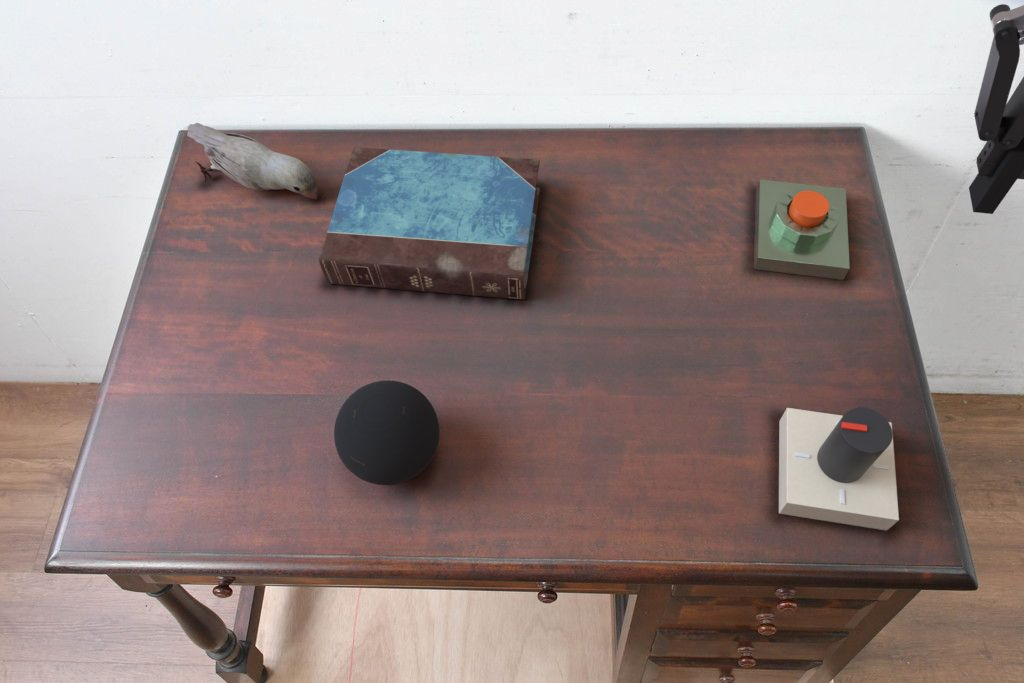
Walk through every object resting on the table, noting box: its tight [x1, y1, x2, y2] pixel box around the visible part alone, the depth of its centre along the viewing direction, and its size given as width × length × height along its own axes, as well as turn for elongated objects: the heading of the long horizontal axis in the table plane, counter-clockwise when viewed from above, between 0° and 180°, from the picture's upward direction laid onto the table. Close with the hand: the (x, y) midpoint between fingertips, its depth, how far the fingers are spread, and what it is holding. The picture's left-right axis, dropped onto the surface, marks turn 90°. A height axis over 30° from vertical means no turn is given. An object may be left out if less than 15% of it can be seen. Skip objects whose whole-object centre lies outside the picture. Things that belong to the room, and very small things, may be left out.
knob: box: [817, 406, 894, 483], centre depth 72 cm, size 4×4×7 cm
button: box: [789, 191, 829, 227], centre depth 90 cm, size 4×4×2 cm
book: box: [318, 146, 541, 301], centre depth 93 cm, size 23×18×5 cm
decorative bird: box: [186, 122, 318, 200], centre depth 98 cm, size 5×16×8 cm, turn 69°
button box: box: [753, 179, 851, 281], centre depth 92 cm, size 12×10×4 cm
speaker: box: [333, 380, 440, 486], centre depth 76 cm, size 10×10×10 cm
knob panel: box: [778, 407, 900, 531], centre depth 77 cm, size 10×10×3 cm
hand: (980, 200), depth 65 cm, fingers closed
